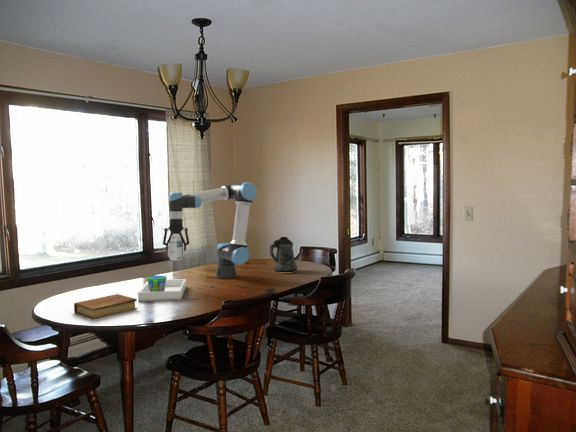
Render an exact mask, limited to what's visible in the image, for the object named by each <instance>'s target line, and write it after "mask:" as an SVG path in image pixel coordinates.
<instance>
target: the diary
mask: <svg viewBox="0 0 576 432" xmlns="http://www.w3.org/2000/svg"><path fill="white" fill-rule="evenodd" d="M137 301H138V298H134V297H130V296H126V295H123V294H118V293H116V294H112V295H108V296H102V297H97V298H93V299H92V298H91V299H88V300H83V301H77V302H74V303H73V310H74V311H73V312H74V314H76V315H78V316H79V315H80V316H82V317H85V318H87V319H91V320H98V319H102V318H106V317H111V316H115V315H119V314H122V313H127V312H130V311H131V312H132V311H135V310H137V309H138V307H136V302H137Z"/></svg>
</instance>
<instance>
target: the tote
mask: <svg viewBox="0 0 576 432" xmlns="http://www.w3.org/2000/svg"><path fill="white" fill-rule="evenodd" d="M186 280H187V279H186V278H182V279H181V278H180V279H179V278H177V279H176V278H175V279H166V284H165V291H156V292H150V290H149V285H148V281H147V280H146V282H145V284H144V285H143V286H141V289H139V291H138V293H137V297H138V298H137V301H138V302H139V303H144V302H165V301H166V302H168V301H181V300H182V298H183V296H184V293H185V291H186V288H187V283H186V282H187V281H186Z"/></svg>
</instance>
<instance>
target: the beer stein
mask: <svg viewBox="0 0 576 432" xmlns="http://www.w3.org/2000/svg"><path fill="white" fill-rule="evenodd" d="M293 246H294V243H293V241H292V240H290V239H289V238H288V237H287V236H280V238H279V239H276V240H274V241H273V244H271V245H269V250H268V251H269V255H270V258H271V259H272V260H273V261H275V263H274V266H273V269H274V270H273V271H274V272H275V271H276V272H294V271H296V272H297V269H298V266H297V264H296V260H295V255H294V248H293ZM275 248H276V256H275V253H274V249H275Z"/></svg>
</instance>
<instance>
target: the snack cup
mask: <svg viewBox="0 0 576 432" xmlns="http://www.w3.org/2000/svg"><path fill="white" fill-rule="evenodd" d="M166 280H168V279H167V275H153V276H152V275H151V276H148V277H147V278H146V282H147V281H148V285H149V290H150V292H156V291H165V284H166Z"/></svg>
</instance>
